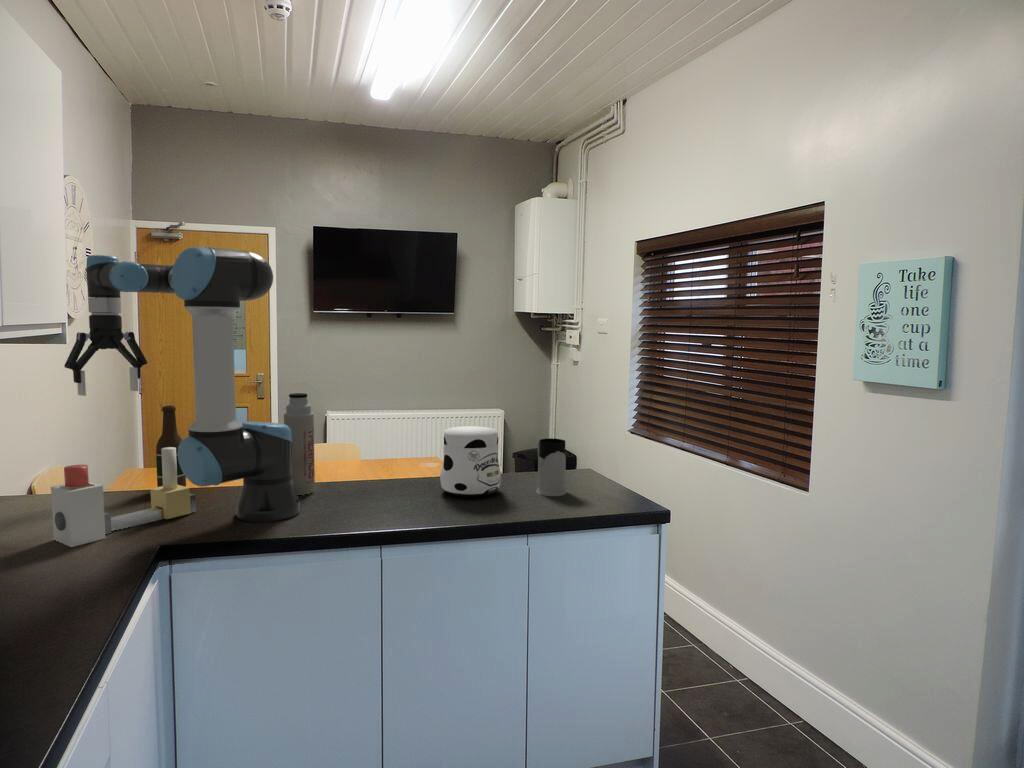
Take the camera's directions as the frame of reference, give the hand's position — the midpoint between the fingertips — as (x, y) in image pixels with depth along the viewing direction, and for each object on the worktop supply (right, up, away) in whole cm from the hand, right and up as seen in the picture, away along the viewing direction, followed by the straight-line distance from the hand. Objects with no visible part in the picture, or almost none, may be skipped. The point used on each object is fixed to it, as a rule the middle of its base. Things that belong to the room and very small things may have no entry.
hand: (109, 393), depth 184 cm
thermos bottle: (+49, -28, +8) cm, 57 cm away
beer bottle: (+13, -28, +7) cm, 32 cm away
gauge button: (+14, -20, -35) cm, 43 cm away
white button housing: (+14, -32, -34) cm, 49 cm away
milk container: (+97, -29, +10) cm, 102 cm away
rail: (+21, -31, -20) cm, 43 cm away
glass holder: (+120, -29, +14) cm, 124 cm away
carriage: (+25, -30, -15) cm, 42 cm away
